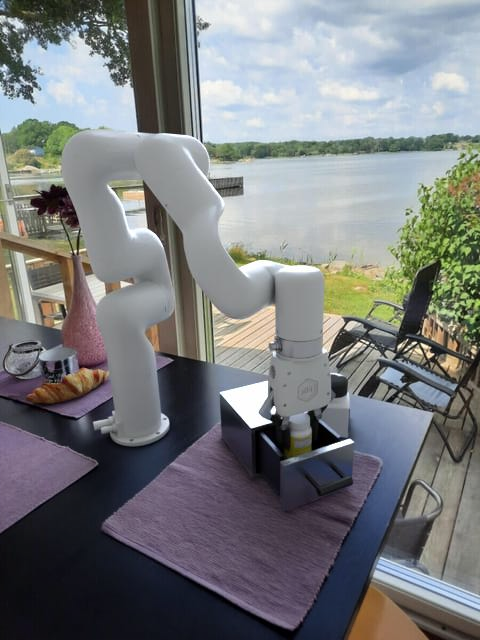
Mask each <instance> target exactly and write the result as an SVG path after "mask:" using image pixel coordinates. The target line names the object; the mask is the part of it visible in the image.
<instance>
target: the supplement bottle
mask: <svg viewBox="0 0 480 640" xmlns="http://www.w3.org/2000/svg"><path fill="white" fill-rule="evenodd" d="M288 427H289V428H290V449H288V450H286V449H285V448H284V458H285V460H286V459H289V458H292V457H295V456H298V455H302V454H305V453H308V452H311V443H312V429H311V426H310V417H309V415H308V414H306V413H301V414H297V415H294V416H290V419H289V423H288Z"/></svg>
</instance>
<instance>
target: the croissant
mask: <svg viewBox="0 0 480 640" xmlns="http://www.w3.org/2000/svg"><path fill="white" fill-rule="evenodd" d="M77 370H78V374H75V373H72V374H68V375H67V376H65V377H63V379H62V382H60V383H58V382H57V383H50V382H49V383H46V382H44V381H43V382H42V383H41V386H40V387H36V388H35V389H34V390H32V391H31V392H30V394H27V395H25V398H26V400H27V401H28V402H29V403H37V404H41V403H42V404H46V405H47V404H48V405H49V404H55V403H60V402H66V401H71V400H72V399H75V398H79V397H82V396H84V395H85V394H88V392H90V391H91V390H93V389H95V388H97V387H98V386H99V385H101V384H102V383H103V384H104V382H105V381H107V380H108V379H109V378H110V374H109V370H102V369H99V368H96V369H94V370H93V369H88V368H85V367H84V366H83V367H81V368H79V369H77Z"/></svg>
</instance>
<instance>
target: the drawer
mask: <svg viewBox="0 0 480 640" xmlns="http://www.w3.org/2000/svg"><path fill="white" fill-rule="evenodd" d="M342 439H343V437H341V436H340V435H339V434H338V433H336V432H335V431H334V430H333V429H332V428H330V427H329V426H328V425H327V424H326V423H324V422H323V421H322V420H321V419H320V420H319V430H318V439H317V440H316V441H314V440H312V443H311V452H308V453H305V454H302V455H298V456H295V457H292V458H289V459H286V460H285V458H284V447H283V446H282V445H281V444H279V443H278V441H277V435H276V425H274V426H271V427H267V428H264V429H260V430H257V431H255V446H256V468H257V470H258V471H259V472H260V474H261V475H262V476H261V477H263V479H264V480H265V482H266V483H267V484H268V485H269V487H270V488H271V489H272V490H273V492H274V493H275V494H276V496H277V497H278V498H279V500H280V501H279V506H280V508H281V510H282V511H283V512H286V511H289V510H292V509H294V508H298V507H300V506H302V505H305V504H308V503H311V502H313V501H315V500H319V499H322V498H324V497H327V496H329V495H331V494H335V493H337V492H339V491H342V490H345V489H348V488H351V487H352V486H353V485H354V479H353V474H354V473H353V471H354V458H355V457H354V455H355V453H354V452H355V441H354V440H352V439H351V438H348V439H345V440H342Z"/></svg>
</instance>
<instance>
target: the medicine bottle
mask: <svg viewBox="0 0 480 640" xmlns="http://www.w3.org/2000/svg"><path fill="white" fill-rule="evenodd" d="M330 375H331V389H332V391H333V392H334V393H335V394H336V396H335V398H334V399H333V400H332V401H331V402H330V403H329V404H328V406H327V408H326V409H325V410H324V412H323V413H322V418H321V420H322V421H323V422H324V423H326V424H327V425H328V426H329V427H330V428H332V429H333V430H334V431H335V432H336V433H338V434H339V435H340V436H341V437H342V438H345V439H347V438H348V439H349V436H350V420H351V418H350V417H351V399H350V398H351V397H350V392H349V390H348V389H349V380H348V378H347V377H346V376H344V375H343V374H341V373H336V372H330Z"/></svg>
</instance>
